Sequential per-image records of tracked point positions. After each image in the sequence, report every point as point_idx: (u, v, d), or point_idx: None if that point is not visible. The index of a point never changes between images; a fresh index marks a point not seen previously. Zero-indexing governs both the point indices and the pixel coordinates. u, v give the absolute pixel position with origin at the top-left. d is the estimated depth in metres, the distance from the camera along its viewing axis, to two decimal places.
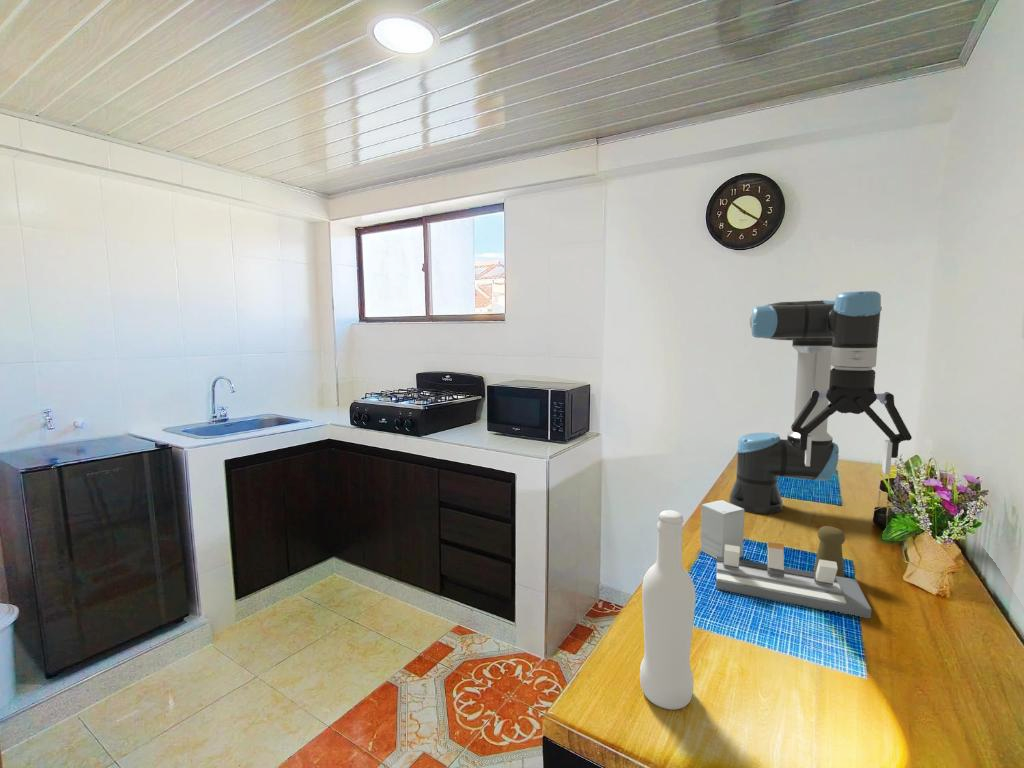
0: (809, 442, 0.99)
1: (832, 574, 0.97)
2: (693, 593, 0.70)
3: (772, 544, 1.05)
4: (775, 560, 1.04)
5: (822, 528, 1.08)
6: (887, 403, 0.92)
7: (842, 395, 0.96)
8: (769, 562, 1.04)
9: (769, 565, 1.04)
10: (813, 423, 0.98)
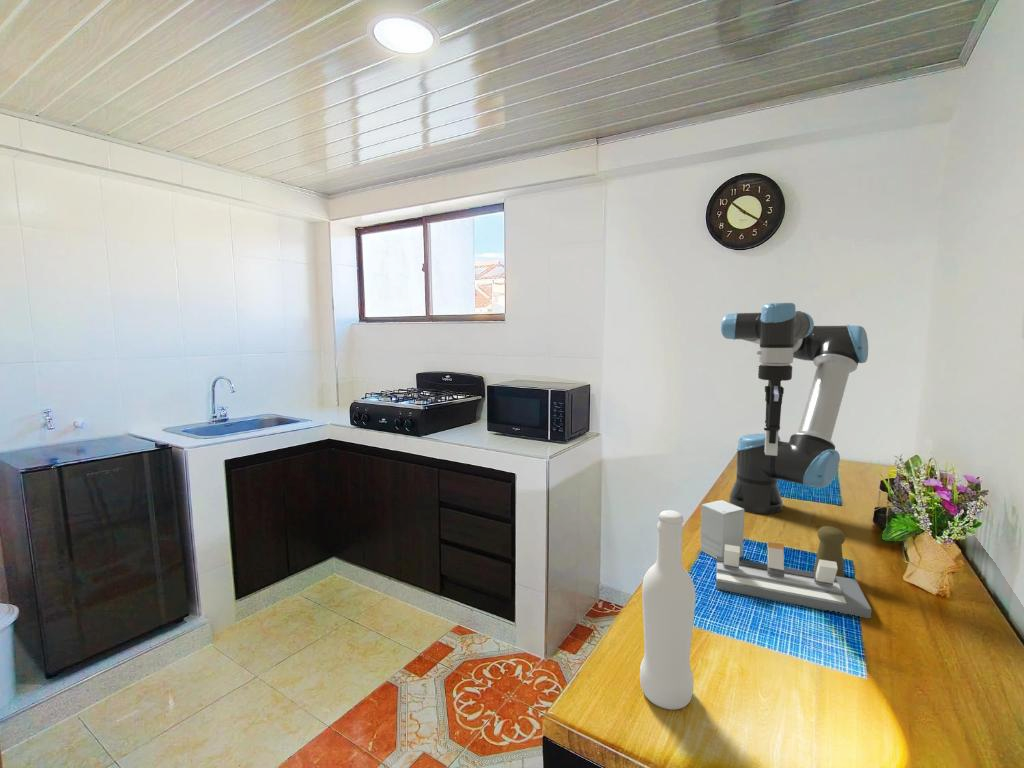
0: (765, 433, 1.22)
1: (832, 574, 0.97)
2: (693, 593, 0.70)
3: (772, 544, 1.05)
4: (775, 560, 1.04)
5: (822, 528, 1.08)
6: None
7: (768, 385, 1.22)
8: (769, 562, 1.04)
9: (769, 565, 1.04)
10: (766, 415, 1.23)
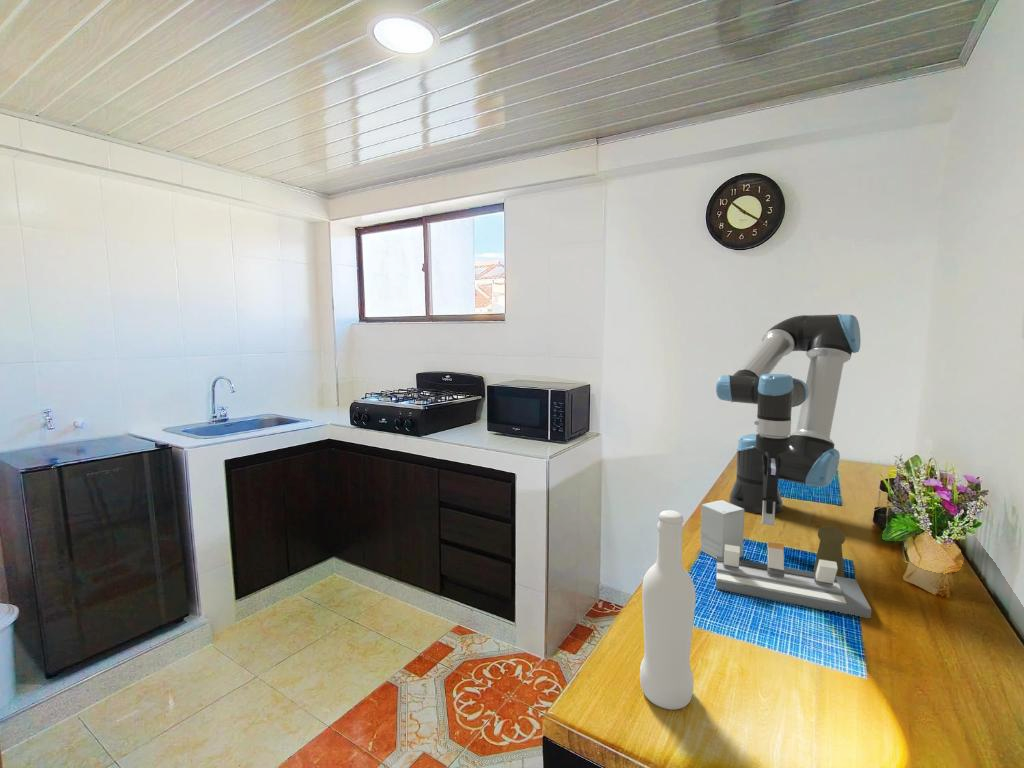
0: None
1: (832, 574, 0.97)
2: (693, 593, 0.70)
3: (772, 544, 1.05)
4: (775, 560, 1.04)
5: (822, 528, 1.08)
6: None
7: (765, 455, 1.21)
8: (769, 562, 1.04)
9: (769, 565, 1.04)
10: (764, 484, 1.22)
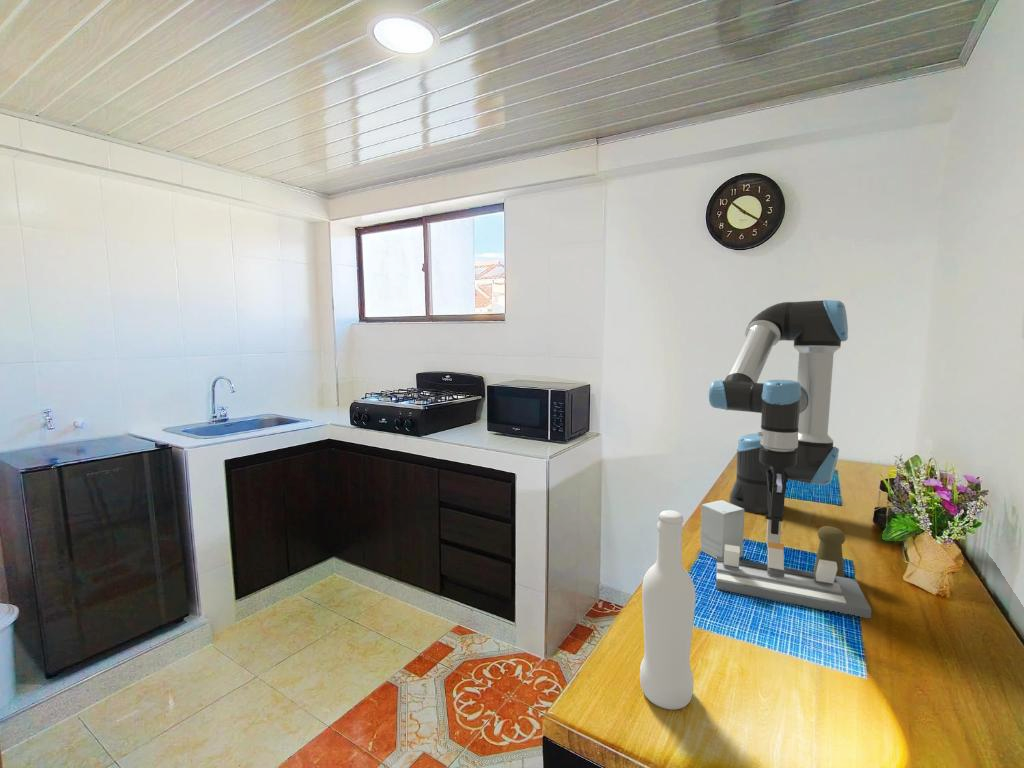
0: (767, 522, 1.10)
1: (832, 574, 0.97)
2: (693, 593, 0.70)
3: (772, 544, 1.05)
4: (775, 560, 1.04)
5: (822, 528, 1.08)
6: None
7: (770, 469, 1.10)
8: (769, 562, 1.04)
9: (769, 565, 1.04)
10: (768, 501, 1.11)
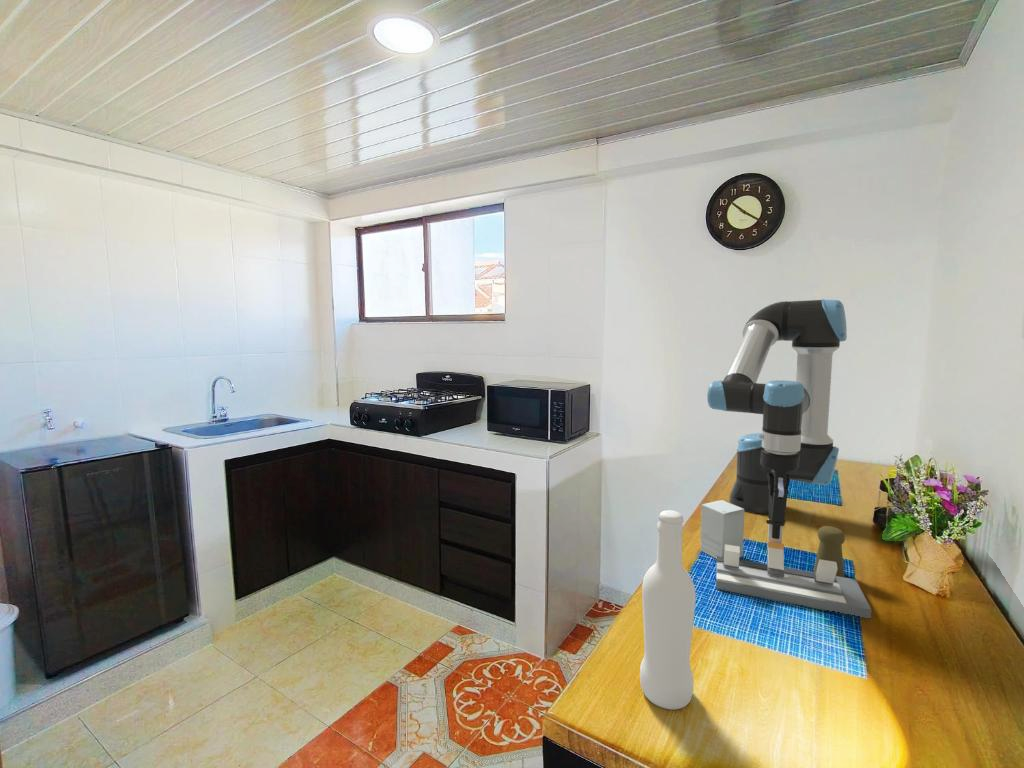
0: (768, 526, 1.07)
1: (832, 574, 0.97)
2: (693, 593, 0.70)
3: (772, 544, 1.05)
4: (775, 560, 1.04)
5: (822, 528, 1.08)
6: None
7: (772, 472, 1.07)
8: (769, 562, 1.04)
9: (769, 565, 1.04)
10: (769, 505, 1.07)
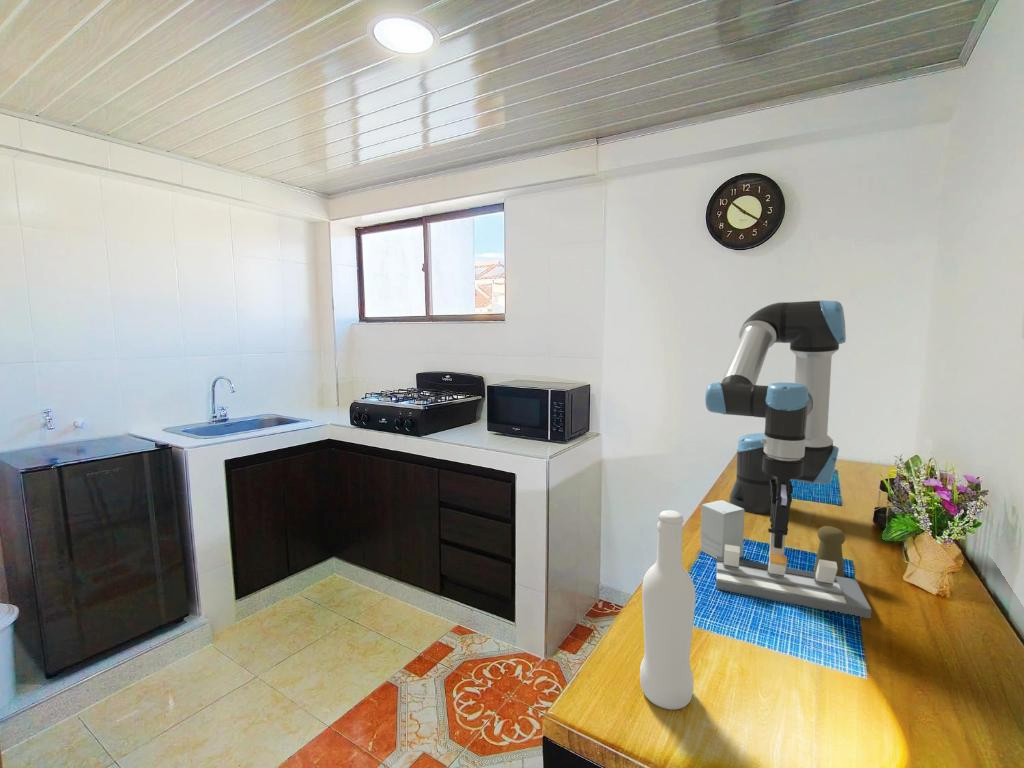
0: (770, 535, 1.02)
1: (832, 574, 0.97)
2: (693, 593, 0.70)
3: (774, 562, 1.00)
4: (776, 570, 1.01)
5: (822, 527, 1.08)
6: None
7: (774, 479, 1.02)
8: (769, 570, 1.02)
9: (769, 572, 1.03)
10: (772, 513, 1.03)
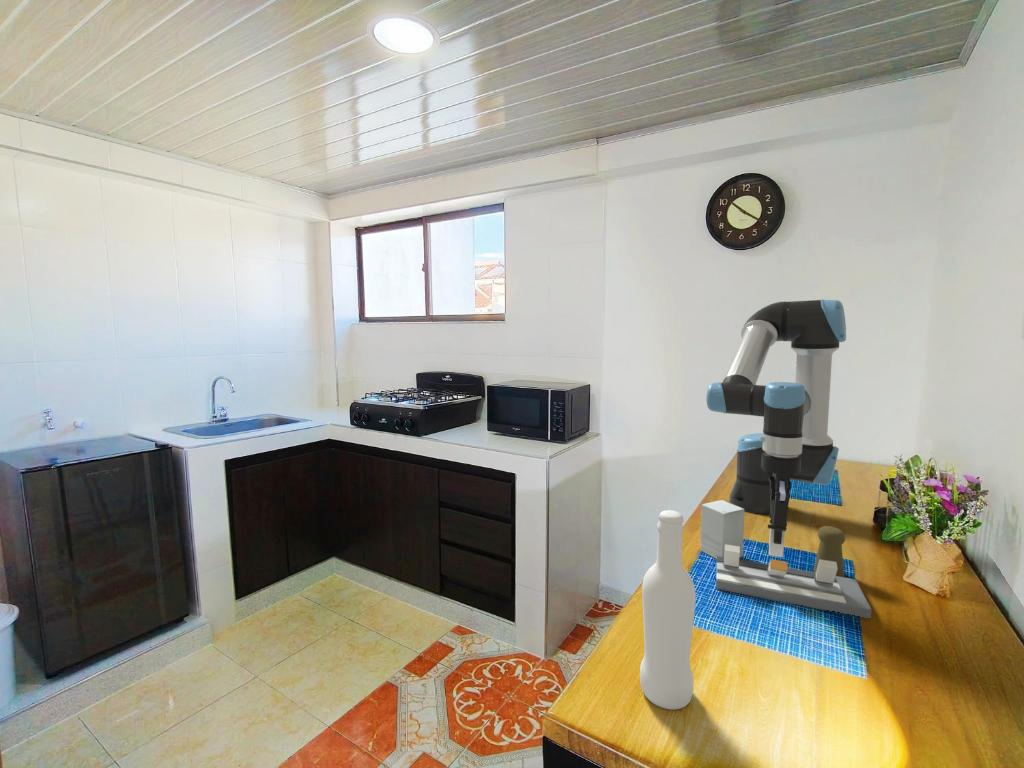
0: None
1: (832, 574, 0.97)
2: (693, 593, 0.70)
3: (774, 568, 0.99)
4: (776, 573, 1.01)
5: (822, 528, 1.08)
6: None
7: (773, 476, 1.05)
8: (769, 572, 1.02)
9: (769, 573, 1.03)
10: (771, 509, 1.06)
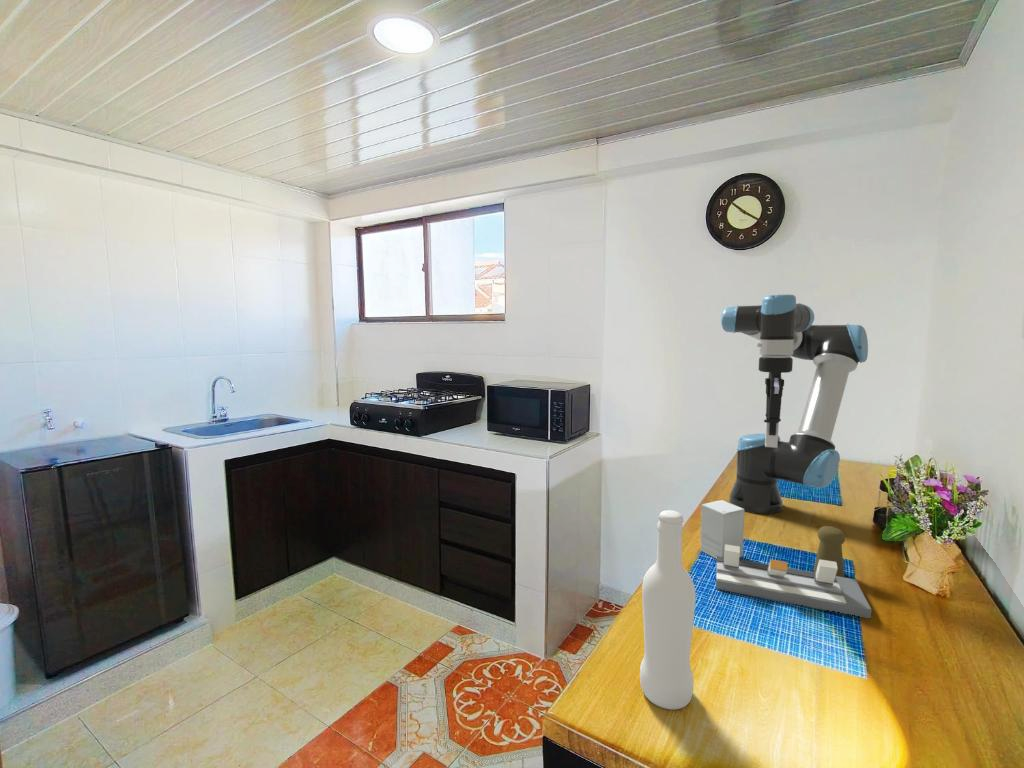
0: (766, 426, 1.22)
1: (832, 574, 0.97)
2: (693, 593, 0.70)
3: (774, 568, 0.99)
4: (776, 573, 1.01)
5: (822, 528, 1.08)
6: None
7: (768, 378, 1.22)
8: (769, 572, 1.02)
9: (769, 573, 1.03)
10: (767, 408, 1.22)
